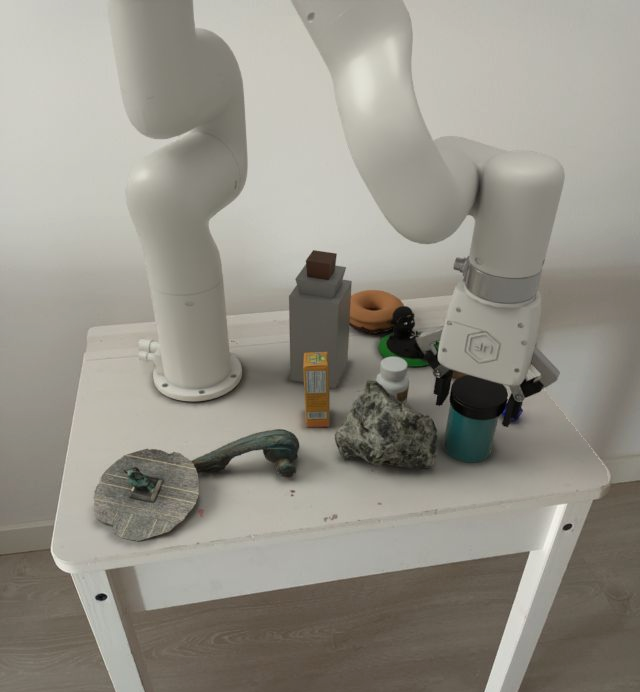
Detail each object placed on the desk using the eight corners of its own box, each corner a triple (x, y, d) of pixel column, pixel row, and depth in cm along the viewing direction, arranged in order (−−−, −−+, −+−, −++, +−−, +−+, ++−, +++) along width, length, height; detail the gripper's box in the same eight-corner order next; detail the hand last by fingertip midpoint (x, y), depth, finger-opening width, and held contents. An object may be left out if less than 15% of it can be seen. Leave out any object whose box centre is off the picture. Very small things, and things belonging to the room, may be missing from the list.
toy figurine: (403, 373, 96) (406, 339, 92) (365, 341, 103) (367, 308, 99) (456, 355, 100) (462, 322, 96) (417, 325, 107) (421, 293, 103)
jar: (440, 457, 83) (449, 403, 77) (446, 428, 87) (455, 374, 82) (488, 466, 81) (501, 412, 76) (492, 436, 86) (504, 383, 80)
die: (516, 428, 87) (505, 413, 86) (503, 423, 90) (493, 408, 88) (529, 414, 88) (519, 398, 86) (516, 409, 90) (506, 394, 89)
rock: (394, 495, 85) (438, 432, 85) (416, 508, 76) (464, 437, 77) (318, 441, 82) (364, 376, 83) (332, 448, 74) (383, 376, 74)
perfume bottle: (290, 380, 95) (288, 264, 83) (304, 355, 100) (304, 242, 88) (335, 388, 93) (339, 272, 82) (347, 362, 98) (353, 249, 87)
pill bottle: (403, 422, 88) (409, 375, 83) (371, 418, 88) (375, 370, 83) (407, 403, 91) (412, 356, 86) (375, 399, 92) (379, 352, 87)
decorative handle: (293, 442, 84) (292, 411, 81) (305, 477, 79) (305, 446, 76) (174, 461, 81) (169, 430, 78) (180, 499, 76) (174, 467, 73)
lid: (507, 392, 81) (510, 379, 80) (503, 425, 77) (507, 412, 75) (452, 383, 83) (454, 370, 82) (446, 414, 78) (448, 402, 77)
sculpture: (90, 466, 78) (117, 422, 74) (160, 479, 84) (190, 438, 80) (97, 551, 71) (128, 506, 67) (174, 559, 76) (207, 518, 72)
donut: (341, 316, 101) (341, 338, 104) (406, 317, 101) (404, 339, 104) (343, 285, 109) (343, 306, 112) (403, 286, 109) (401, 307, 111)
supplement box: (303, 412, 89) (303, 350, 83) (329, 412, 89) (330, 350, 83) (303, 428, 87) (303, 365, 80) (329, 428, 87) (331, 365, 80)
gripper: (411, 274, 70) (396, 405, 81) (579, 315, 64) (538, 450, 75) (435, 247, 75) (418, 374, 86) (593, 282, 69) (553, 414, 80)
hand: (474, 409), depth 80 cm, fingers open, 7 cm apart
